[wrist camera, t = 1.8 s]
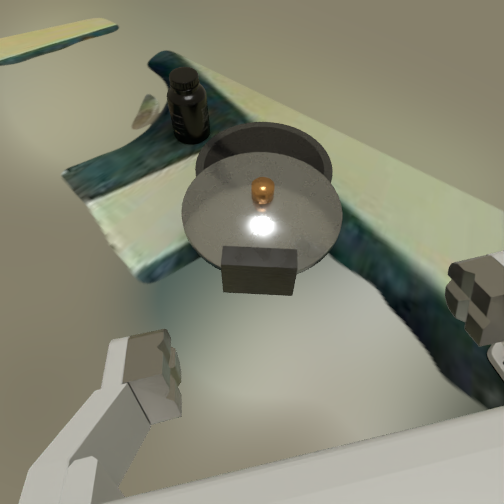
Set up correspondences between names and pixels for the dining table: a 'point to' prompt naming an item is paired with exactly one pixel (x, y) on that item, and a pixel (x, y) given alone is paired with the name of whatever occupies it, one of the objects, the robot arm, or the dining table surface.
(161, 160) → the dining table surface
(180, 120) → the supplement bottle
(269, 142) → the cooker pot
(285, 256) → the cooker lid
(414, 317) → the dining table surface
